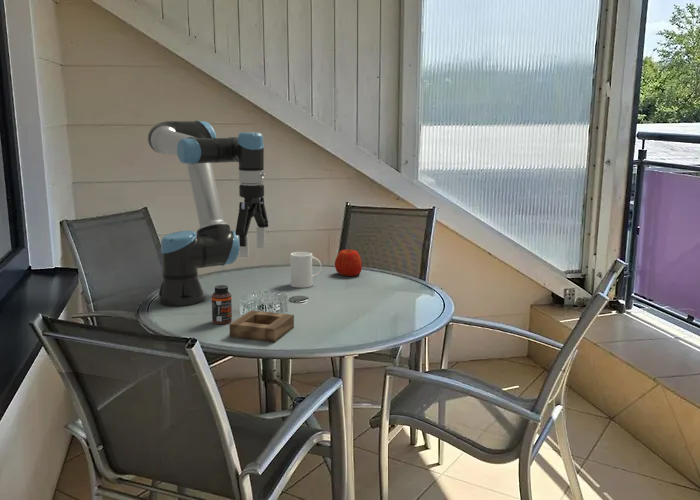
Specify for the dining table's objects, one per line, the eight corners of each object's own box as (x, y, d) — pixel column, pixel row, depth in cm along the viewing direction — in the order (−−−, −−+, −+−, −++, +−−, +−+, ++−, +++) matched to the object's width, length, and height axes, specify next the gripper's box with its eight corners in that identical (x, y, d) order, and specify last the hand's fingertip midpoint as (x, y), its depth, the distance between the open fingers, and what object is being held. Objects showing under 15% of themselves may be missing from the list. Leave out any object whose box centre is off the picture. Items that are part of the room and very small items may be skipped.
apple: (332, 277, 256) (332, 251, 254) (337, 271, 266) (337, 245, 264) (359, 278, 254) (359, 252, 252) (363, 272, 264) (363, 246, 262)
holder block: (229, 337, 186) (229, 324, 185) (251, 322, 199) (251, 310, 198) (274, 342, 181) (274, 329, 181) (293, 327, 195) (293, 314, 194)
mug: (322, 282, 248) (322, 251, 246) (321, 288, 240) (320, 256, 237) (291, 282, 248) (291, 251, 246) (289, 287, 240) (288, 256, 237)
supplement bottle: (222, 326, 195) (221, 290, 193) (208, 322, 199) (206, 287, 196) (236, 321, 200) (235, 285, 198) (221, 317, 204) (220, 283, 201)
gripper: (246, 189, 184) (248, 261, 189) (277, 180, 208) (278, 244, 213) (222, 188, 186) (224, 259, 191) (255, 179, 210) (257, 243, 214)
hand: (252, 252), depth 202 cm, fingers open, 13 cm apart
